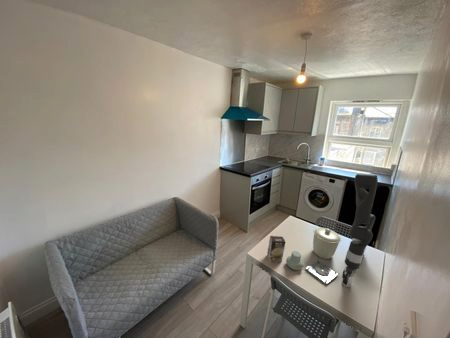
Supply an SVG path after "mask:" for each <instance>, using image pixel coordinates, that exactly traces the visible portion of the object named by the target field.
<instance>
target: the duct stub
mask: <svg viewBox="0 0 450 338" xmlns="http://www.w3.org/2000/svg"><path fill="white" fill-rule="evenodd" d="M344 270H345V268H344ZM344 270H343V271H344ZM349 275H350V274H349ZM355 276H356V272H353V273H352V275H351V277H349V280H348V282H347V285H345V284H344V283H343V278H341V279H342V280H341V284H342V285H343V286H344V287H346V288H351V287H352V284H353V281H354V277H355Z"/></svg>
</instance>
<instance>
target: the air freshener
mask: <svg viewBox="0 0 450 338" xmlns="http://www.w3.org/2000/svg"><path fill="white" fill-rule="evenodd" d="M301 258H302V253H300V252H299V251H296V250H294V251H292V252H291V254H290V255H289V256H287V257H286V260H285V263H286V264H287V266H288V267H289V268H290V269H292V270H294V271H301V270H302V269H303V268H304V261H303V260H302V259H301Z"/></svg>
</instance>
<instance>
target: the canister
mask: <svg viewBox="0 0 450 338" xmlns="http://www.w3.org/2000/svg"><path fill="white" fill-rule="evenodd" d="M341 241H342V237H341V235H339V233H337V232H336V231H334V230H332V229H330V228H326V227H316V228H314V229H313V242H312V248H313V249H312V250H313V252H314V254H316V256H318V257H319V258H321V259H324V260H326V259H327V260H329V259H332V258H333V257H334V255H335V253H336V251H337V249H338V246H339V243H340V242H341Z"/></svg>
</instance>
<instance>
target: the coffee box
mask: <svg viewBox="0 0 450 338" xmlns="http://www.w3.org/2000/svg"><path fill="white" fill-rule="evenodd" d="M285 245H286V240H285V238H284V237H283V236H278V235H270V236H269V241H268V247H267V253H266V255H267V259H268V261H269V262H279V263H280V262H283V256H284V251H285V247H286V246H285Z"/></svg>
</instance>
